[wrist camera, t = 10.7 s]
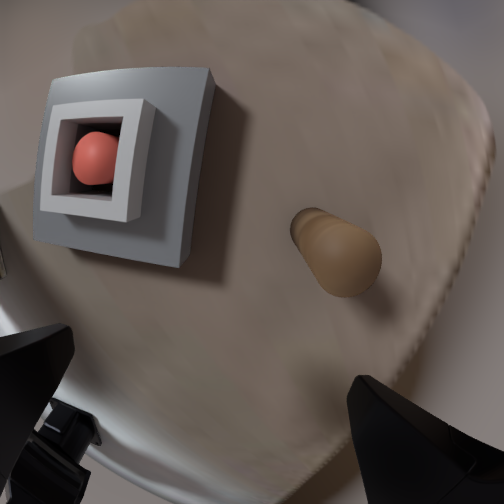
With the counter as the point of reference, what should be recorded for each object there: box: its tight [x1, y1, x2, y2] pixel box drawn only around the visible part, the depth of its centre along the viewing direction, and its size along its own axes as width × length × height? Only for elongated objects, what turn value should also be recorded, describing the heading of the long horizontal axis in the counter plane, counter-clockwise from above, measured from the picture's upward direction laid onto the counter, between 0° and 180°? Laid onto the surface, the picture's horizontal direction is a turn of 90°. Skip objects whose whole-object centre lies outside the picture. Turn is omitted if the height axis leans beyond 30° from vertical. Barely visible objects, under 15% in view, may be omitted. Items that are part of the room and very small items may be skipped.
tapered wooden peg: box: [290, 208, 382, 297], centre depth 15 cm, size 3×3×8 cm
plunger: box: [72, 132, 120, 185], centre depth 15 cm, size 3×3×3 cm
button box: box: [33, 67, 216, 268], centre depth 15 cm, size 12×12×5 cm
